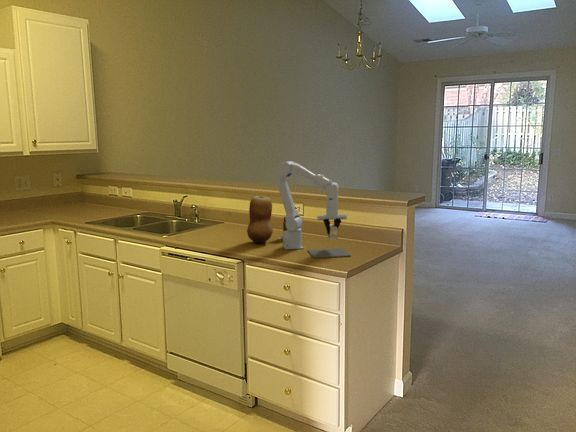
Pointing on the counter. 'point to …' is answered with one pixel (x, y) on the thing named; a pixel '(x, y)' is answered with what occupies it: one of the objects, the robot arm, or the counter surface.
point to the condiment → (284, 227)
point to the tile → (333, 232)
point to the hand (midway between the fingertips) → (331, 234)
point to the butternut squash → (260, 219)
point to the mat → (329, 253)
